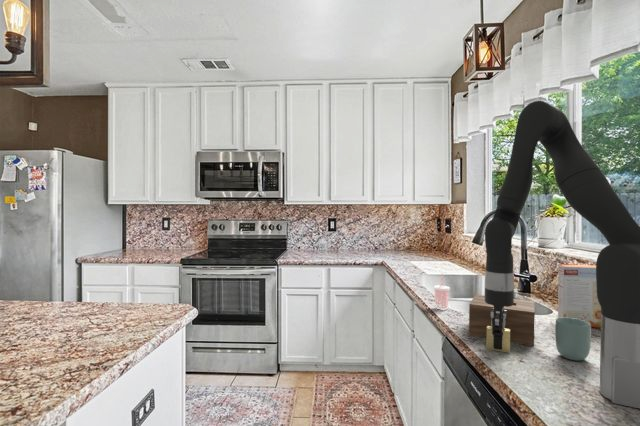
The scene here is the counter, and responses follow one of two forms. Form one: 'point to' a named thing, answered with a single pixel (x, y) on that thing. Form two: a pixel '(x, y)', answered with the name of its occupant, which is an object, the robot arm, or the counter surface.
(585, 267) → the cracker box
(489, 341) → the block
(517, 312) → the coin box
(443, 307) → the beverage cup
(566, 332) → the cup
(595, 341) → the counter surface
